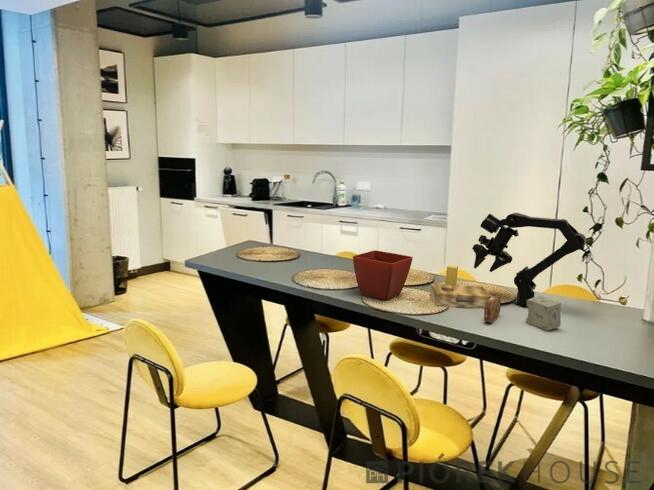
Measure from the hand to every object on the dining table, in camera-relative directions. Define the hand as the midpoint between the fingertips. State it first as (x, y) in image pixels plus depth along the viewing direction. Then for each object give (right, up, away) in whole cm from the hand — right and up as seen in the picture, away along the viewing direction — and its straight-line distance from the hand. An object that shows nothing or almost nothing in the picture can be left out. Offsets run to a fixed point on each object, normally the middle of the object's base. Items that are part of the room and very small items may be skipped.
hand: (482, 269), depth 224 cm
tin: (-5, -18, -27) cm, 33 cm away
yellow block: (-13, -11, +5) cm, 17 cm away
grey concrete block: (+12, -20, -33) cm, 40 cm away
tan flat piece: (-12, -13, -7) cm, 19 cm away
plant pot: (-44, -11, -2) cm, 46 cm away
